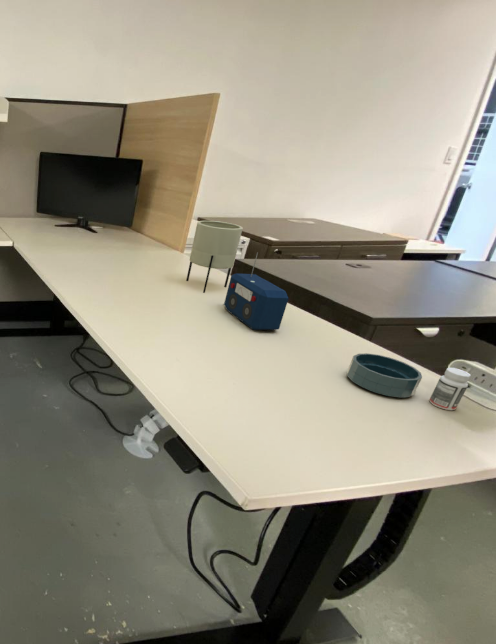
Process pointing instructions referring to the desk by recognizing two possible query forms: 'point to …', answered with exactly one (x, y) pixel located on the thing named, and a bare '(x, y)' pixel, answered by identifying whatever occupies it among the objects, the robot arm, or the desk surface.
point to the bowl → (384, 375)
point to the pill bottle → (450, 389)
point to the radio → (256, 301)
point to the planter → (215, 246)
